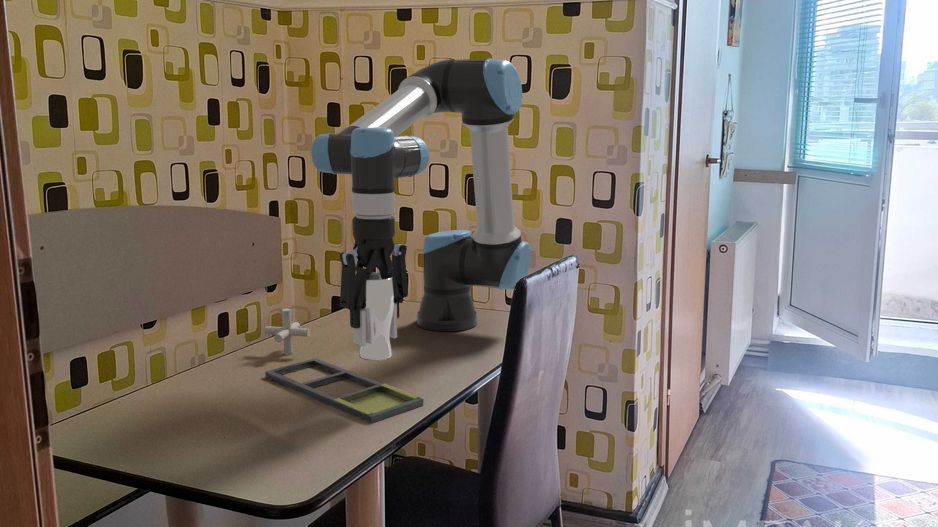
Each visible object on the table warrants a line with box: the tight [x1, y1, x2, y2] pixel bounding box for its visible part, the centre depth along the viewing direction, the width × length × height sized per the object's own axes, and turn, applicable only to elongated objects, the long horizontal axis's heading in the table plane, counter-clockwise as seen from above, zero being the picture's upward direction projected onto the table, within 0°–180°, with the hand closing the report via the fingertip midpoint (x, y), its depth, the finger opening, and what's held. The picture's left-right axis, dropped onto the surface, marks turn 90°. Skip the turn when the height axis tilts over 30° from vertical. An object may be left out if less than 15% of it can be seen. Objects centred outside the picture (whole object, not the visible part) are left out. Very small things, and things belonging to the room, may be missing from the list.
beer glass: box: [358, 271, 394, 362], centre depth 156 cm, size 7×7×15 cm
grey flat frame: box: [264, 358, 424, 424], centre depth 167 cm, size 12×34×1 cm, turn 45°
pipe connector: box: [263, 308, 311, 356], centre depth 189 cm, size 10×10×10 cm
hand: (375, 340), depth 157 cm, fingers closed on beer glass, 7 cm apart
